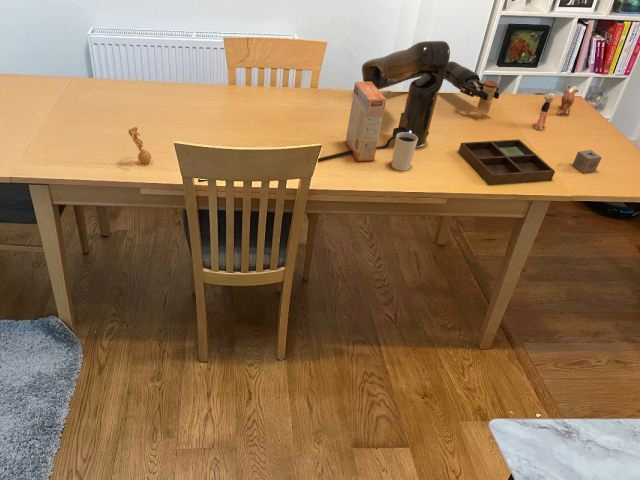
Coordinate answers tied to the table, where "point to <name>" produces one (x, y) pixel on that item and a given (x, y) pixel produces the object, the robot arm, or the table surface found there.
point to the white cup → (404, 150)
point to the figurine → (143, 155)
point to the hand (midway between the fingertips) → (492, 96)
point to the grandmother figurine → (544, 111)
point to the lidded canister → (490, 90)
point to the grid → (505, 162)
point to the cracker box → (365, 120)
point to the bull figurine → (568, 98)
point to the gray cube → (586, 161)
